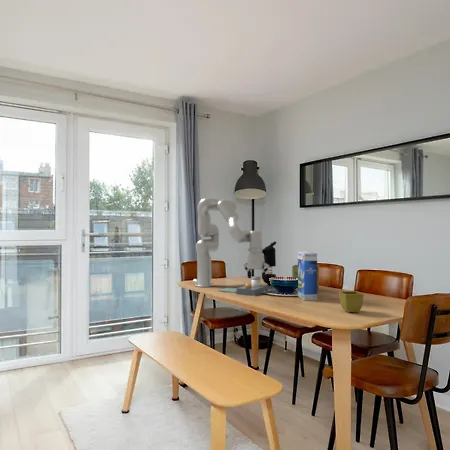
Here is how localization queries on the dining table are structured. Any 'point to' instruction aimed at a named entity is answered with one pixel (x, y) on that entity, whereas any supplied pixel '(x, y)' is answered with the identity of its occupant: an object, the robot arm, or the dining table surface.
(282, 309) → the dining table surface
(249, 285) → the release plunger
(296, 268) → the protein box
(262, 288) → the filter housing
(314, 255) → the string lights box
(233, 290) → the mat
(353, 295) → the flower pot
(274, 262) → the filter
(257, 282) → the dome-topped cylinder
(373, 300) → the dining table surface
